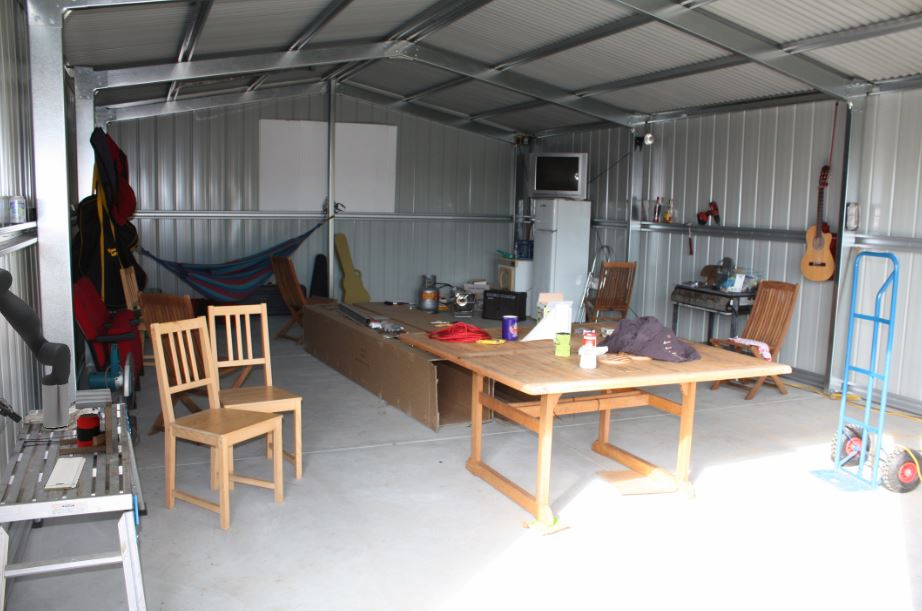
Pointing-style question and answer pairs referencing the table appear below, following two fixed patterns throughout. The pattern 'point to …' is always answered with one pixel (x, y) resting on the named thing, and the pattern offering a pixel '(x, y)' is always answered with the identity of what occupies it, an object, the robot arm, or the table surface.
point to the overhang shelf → (105, 438)
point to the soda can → (87, 429)
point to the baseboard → (65, 474)
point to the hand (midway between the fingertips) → (19, 420)
